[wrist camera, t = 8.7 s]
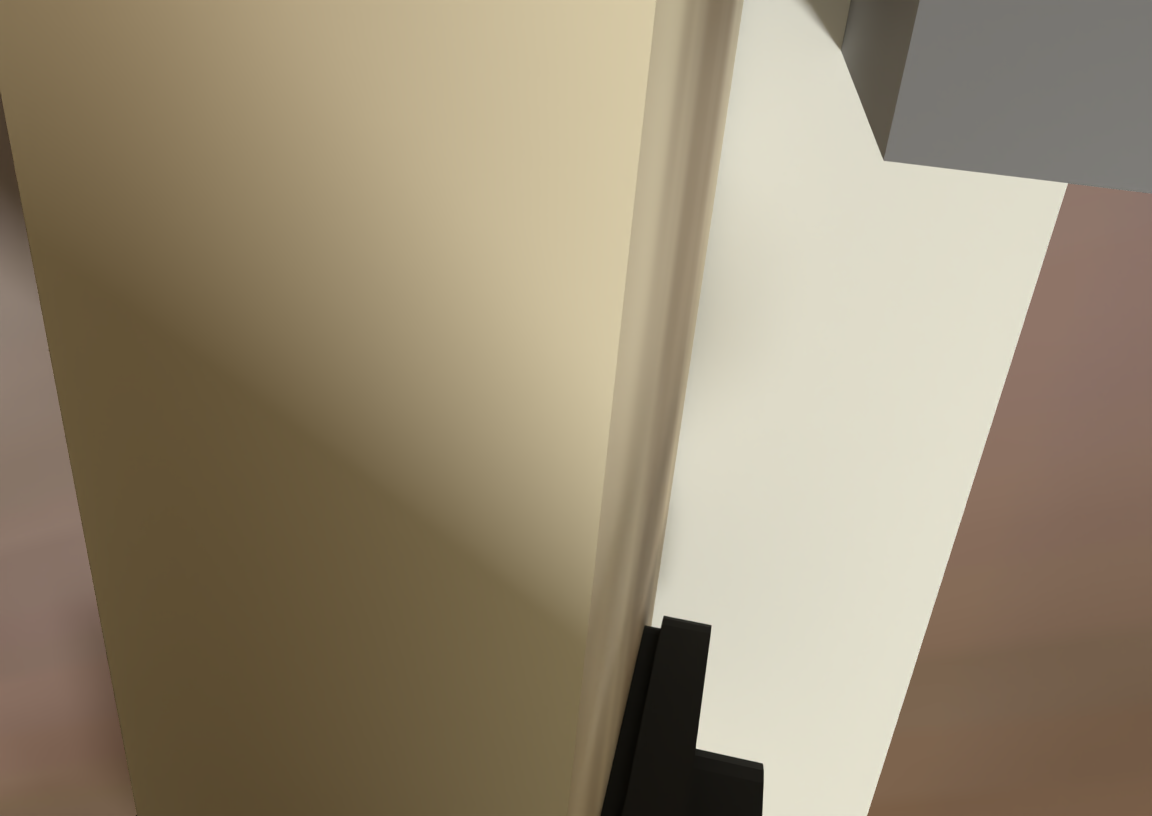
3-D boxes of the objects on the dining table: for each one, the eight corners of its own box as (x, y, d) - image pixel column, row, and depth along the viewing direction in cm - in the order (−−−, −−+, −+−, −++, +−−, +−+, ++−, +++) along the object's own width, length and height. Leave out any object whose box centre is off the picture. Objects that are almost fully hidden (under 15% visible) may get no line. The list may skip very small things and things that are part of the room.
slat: (777, -227, 8) (723, -615, 2) (587, 1056, 16) (479, 1612, 11) (480, -246, 8) (-134, -618, 3) (445, 1017, 16) (272, 1533, 11)
